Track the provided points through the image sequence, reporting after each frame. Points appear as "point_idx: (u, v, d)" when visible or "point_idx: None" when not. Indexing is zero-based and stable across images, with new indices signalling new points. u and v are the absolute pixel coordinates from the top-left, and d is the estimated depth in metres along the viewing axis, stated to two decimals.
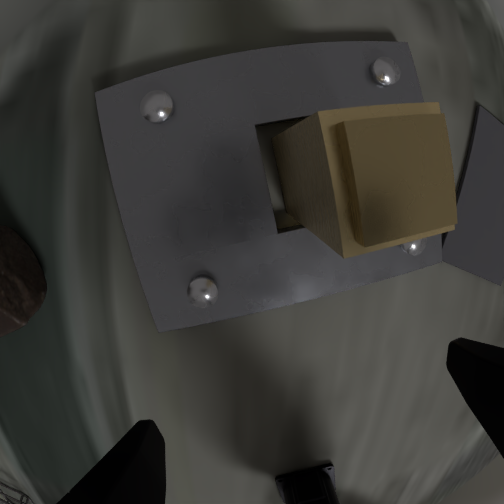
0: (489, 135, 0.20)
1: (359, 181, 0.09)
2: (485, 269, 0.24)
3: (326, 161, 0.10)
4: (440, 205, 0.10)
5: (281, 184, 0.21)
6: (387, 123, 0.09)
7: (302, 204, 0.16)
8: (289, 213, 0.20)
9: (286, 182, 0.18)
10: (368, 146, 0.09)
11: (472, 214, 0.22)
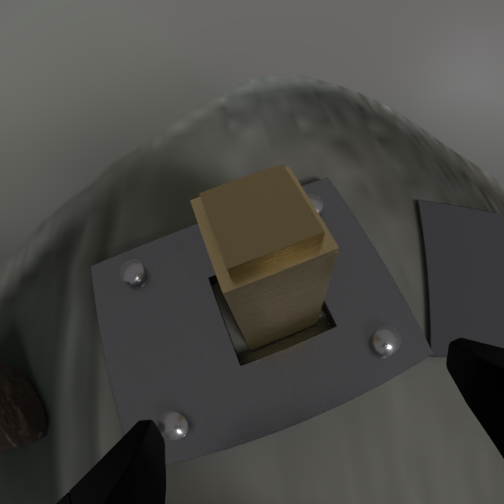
0: (439, 220, 0.25)
1: (214, 225, 0.13)
2: (496, 344, 0.19)
3: (200, 230, 0.14)
4: (297, 222, 0.13)
5: None
6: (232, 184, 0.14)
7: None
8: None
9: None
10: (219, 201, 0.14)
11: (452, 297, 0.21)
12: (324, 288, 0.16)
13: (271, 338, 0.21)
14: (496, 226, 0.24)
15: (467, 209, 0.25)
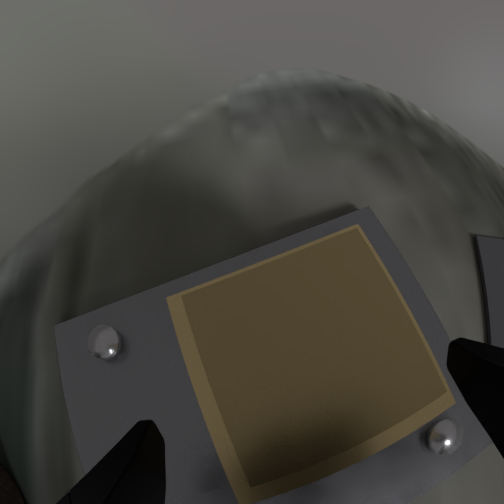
0: (500, 261, 0.17)
1: (218, 382, 0.06)
2: None
3: (188, 366, 0.07)
4: (398, 377, 0.05)
5: None
6: (253, 278, 0.06)
7: None
8: None
9: None
10: (225, 322, 0.06)
11: None
12: None
13: None
14: None
15: None
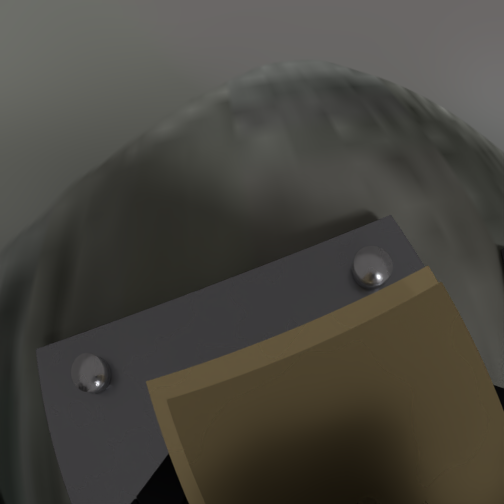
0: None
1: None
2: None
3: (185, 479, 0.04)
4: (482, 496, 0.02)
5: None
6: (287, 376, 0.04)
7: None
8: None
9: None
10: (240, 449, 0.03)
11: None
12: None
13: None
14: None
15: None
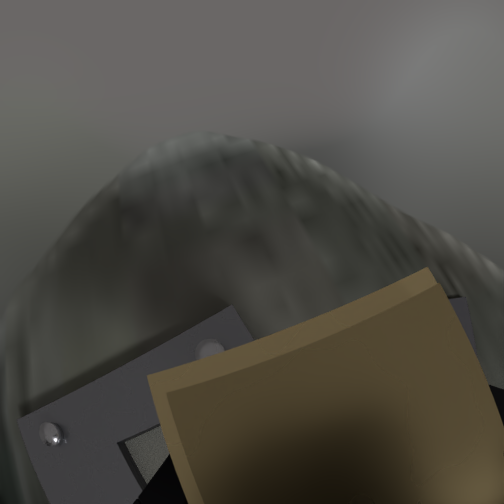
0: None
1: None
2: None
3: (182, 473, 0.04)
4: (475, 498, 0.02)
5: None
6: (284, 372, 0.04)
7: None
8: None
9: None
10: (237, 443, 0.03)
11: None
12: None
13: None
14: (458, 318, 0.21)
15: None
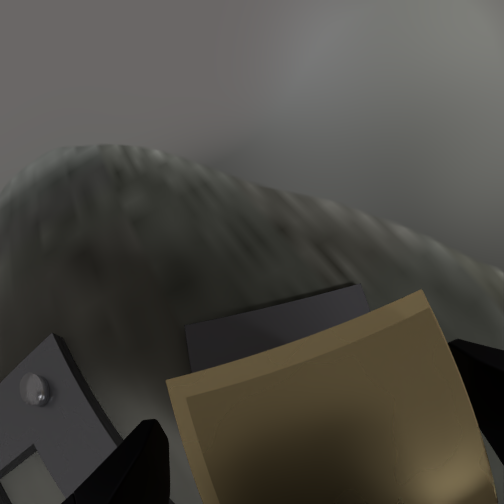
0: (223, 353, 0.16)
1: None
2: None
3: (194, 467, 0.05)
4: (452, 499, 0.03)
5: None
6: (289, 382, 0.04)
7: None
8: None
9: None
10: (246, 441, 0.04)
11: None
12: None
13: None
14: (349, 317, 0.16)
15: (282, 307, 0.17)
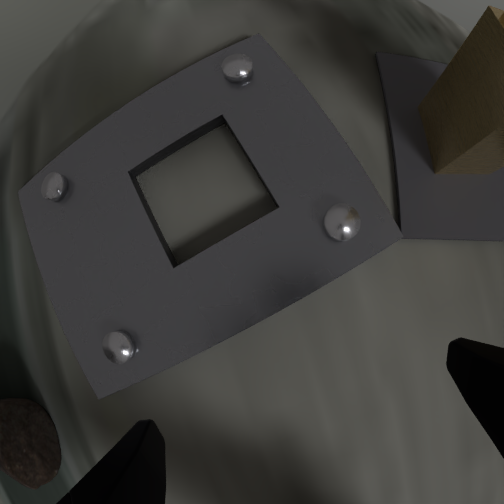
0: (404, 74, 0.19)
1: None
2: (482, 227, 0.17)
3: (503, 34, 0.08)
4: None
5: (429, 145, 0.18)
6: None
7: (471, 121, 0.12)
8: (441, 167, 0.17)
9: (441, 129, 0.16)
10: None
11: (425, 166, 0.18)
12: None
13: (462, 168, 0.17)
14: None
15: (439, 64, 0.18)
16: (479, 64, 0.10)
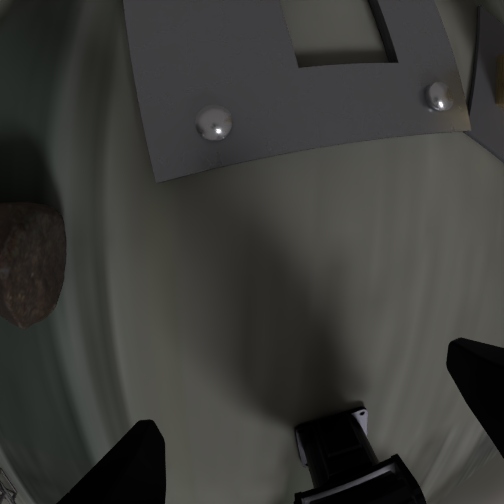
0: (493, 31, 0.16)
1: None
2: None
3: None
4: None
5: (498, 84, 0.18)
6: None
7: None
8: None
9: None
10: None
11: (491, 96, 0.18)
12: None
13: None
14: None
15: None
16: None
